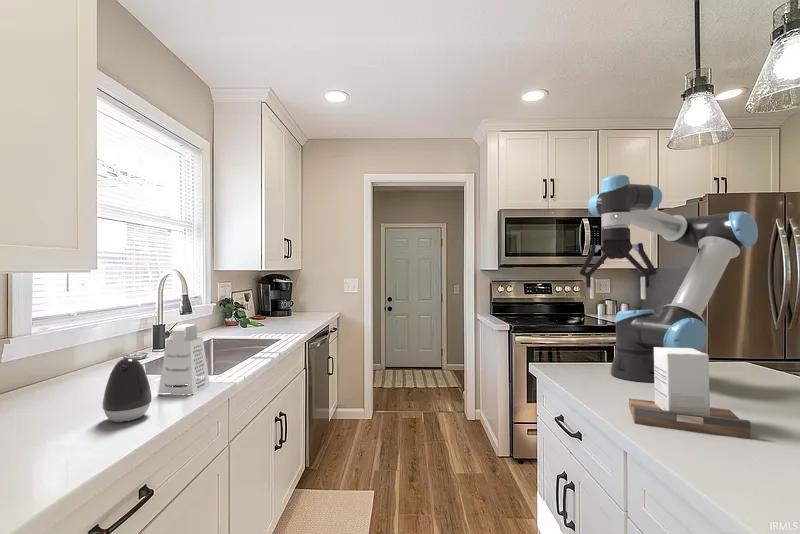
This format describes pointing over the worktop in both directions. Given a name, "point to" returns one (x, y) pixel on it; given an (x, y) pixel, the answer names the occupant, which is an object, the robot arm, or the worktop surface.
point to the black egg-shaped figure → (127, 391)
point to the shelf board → (690, 419)
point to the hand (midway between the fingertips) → (617, 298)
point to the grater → (184, 362)
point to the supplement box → (682, 380)
